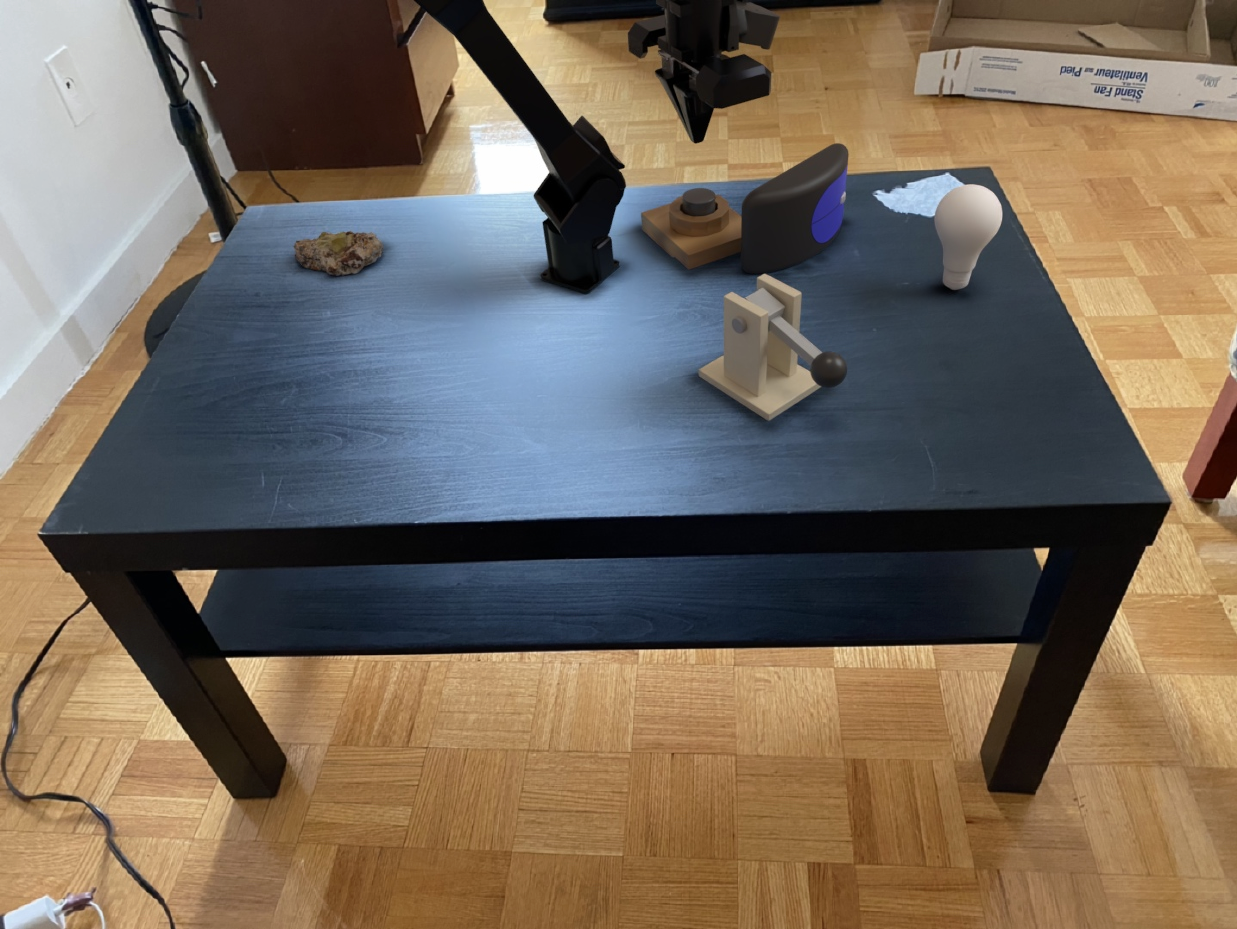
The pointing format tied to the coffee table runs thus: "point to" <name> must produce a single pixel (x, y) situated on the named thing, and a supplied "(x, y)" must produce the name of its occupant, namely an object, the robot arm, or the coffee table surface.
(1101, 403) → the coffee table surface
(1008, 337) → the coffee table surface
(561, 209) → the robot arm
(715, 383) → the switch bracket
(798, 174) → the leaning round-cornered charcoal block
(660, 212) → the button block
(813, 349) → the switch lever
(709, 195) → the button
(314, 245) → the mineral rock
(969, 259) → the lightbulb
